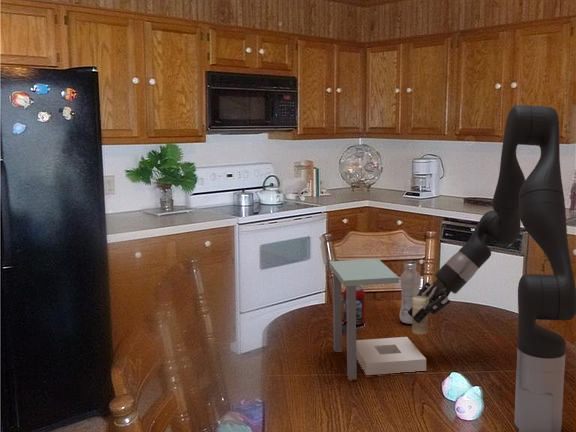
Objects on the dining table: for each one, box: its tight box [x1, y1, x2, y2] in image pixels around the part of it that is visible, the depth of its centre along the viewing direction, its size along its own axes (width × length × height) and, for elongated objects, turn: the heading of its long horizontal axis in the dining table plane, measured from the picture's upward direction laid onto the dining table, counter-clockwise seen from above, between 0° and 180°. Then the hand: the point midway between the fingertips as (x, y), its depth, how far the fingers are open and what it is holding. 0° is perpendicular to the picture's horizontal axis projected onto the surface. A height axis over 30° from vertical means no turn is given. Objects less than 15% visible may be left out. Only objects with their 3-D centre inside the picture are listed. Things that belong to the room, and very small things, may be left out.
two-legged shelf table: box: [328, 258, 400, 380], centre depth 156 cm, size 14×20×26 cm
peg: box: [411, 295, 429, 335], centre depth 158 cm, size 4×4×10 cm
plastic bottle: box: [399, 260, 422, 325], centre depth 187 cm, size 6×7×20 cm
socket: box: [356, 336, 427, 376], centre depth 159 cm, size 16×16×4 cm
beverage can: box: [343, 285, 366, 324], centre depth 189 cm, size 7×7×12 cm
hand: (412, 317), depth 158 cm, fingers closed on peg, 4 cm apart
